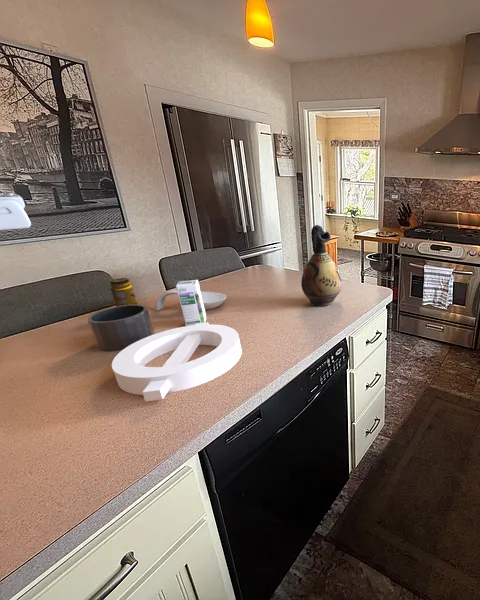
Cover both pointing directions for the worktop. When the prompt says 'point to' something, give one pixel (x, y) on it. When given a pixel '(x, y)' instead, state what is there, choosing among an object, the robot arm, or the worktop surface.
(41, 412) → the worktop surface
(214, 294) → the spoon rest
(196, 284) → the syrup box
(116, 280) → the condiment
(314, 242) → the ceramic jug
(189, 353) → the white circle with bar
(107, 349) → the pot
